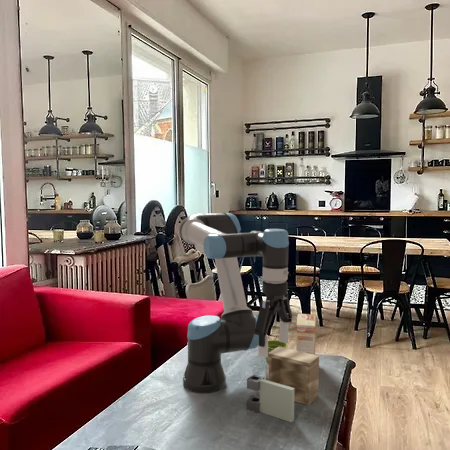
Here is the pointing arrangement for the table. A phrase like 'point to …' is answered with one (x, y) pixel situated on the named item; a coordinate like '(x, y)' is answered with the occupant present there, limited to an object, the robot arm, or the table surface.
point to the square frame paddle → (271, 398)
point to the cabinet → (294, 372)
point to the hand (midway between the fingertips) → (273, 349)
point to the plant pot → (274, 346)
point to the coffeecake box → (306, 333)
